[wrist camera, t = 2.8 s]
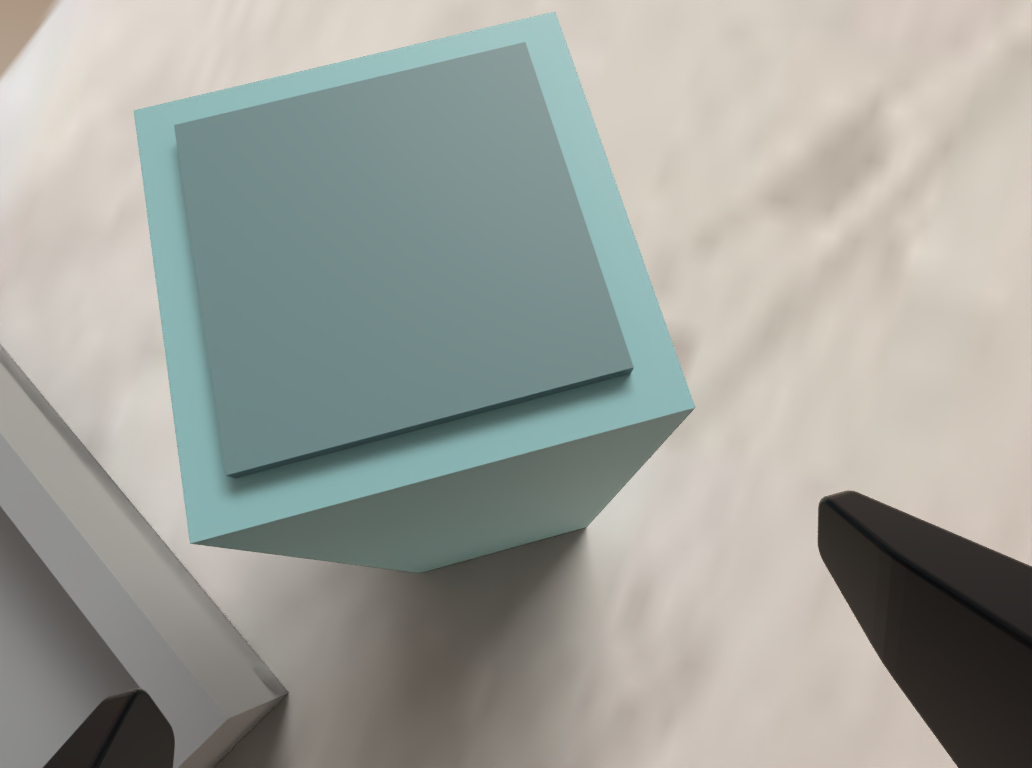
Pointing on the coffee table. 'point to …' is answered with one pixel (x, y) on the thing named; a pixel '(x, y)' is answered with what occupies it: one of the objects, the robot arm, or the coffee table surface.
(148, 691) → the grey crate
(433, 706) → the coffee table surface
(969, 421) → the coffee table surface
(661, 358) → the teal square pillar
